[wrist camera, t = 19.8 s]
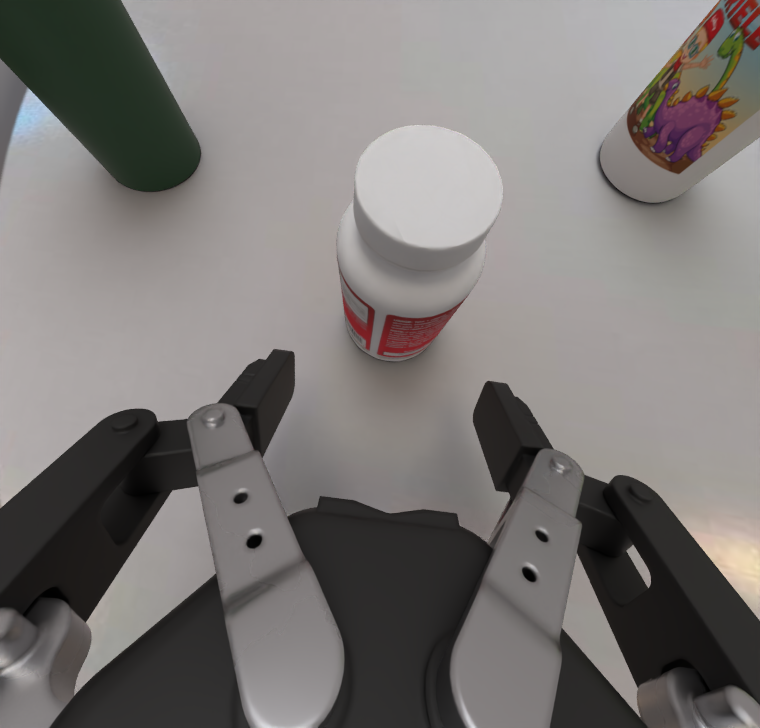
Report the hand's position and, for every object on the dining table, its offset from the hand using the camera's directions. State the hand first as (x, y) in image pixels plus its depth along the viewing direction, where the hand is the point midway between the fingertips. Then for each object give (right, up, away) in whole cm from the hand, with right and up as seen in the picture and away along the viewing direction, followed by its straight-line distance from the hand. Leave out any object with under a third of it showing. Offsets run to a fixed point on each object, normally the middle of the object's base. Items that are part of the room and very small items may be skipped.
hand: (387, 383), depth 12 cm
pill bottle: (0, +4, +8) cm, 9 cm away
